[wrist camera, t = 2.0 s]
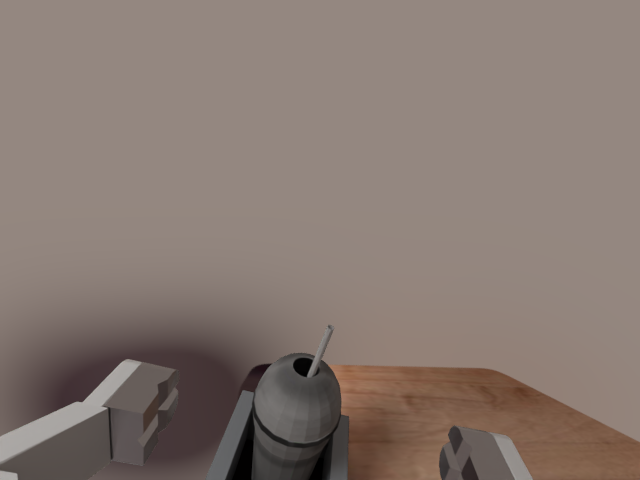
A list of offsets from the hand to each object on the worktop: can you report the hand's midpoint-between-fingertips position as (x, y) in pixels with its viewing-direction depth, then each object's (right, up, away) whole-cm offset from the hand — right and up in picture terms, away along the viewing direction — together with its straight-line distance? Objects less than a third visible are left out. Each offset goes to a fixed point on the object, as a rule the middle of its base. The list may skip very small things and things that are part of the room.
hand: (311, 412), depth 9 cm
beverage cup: (-4, -19, +21) cm, 28 cm away
